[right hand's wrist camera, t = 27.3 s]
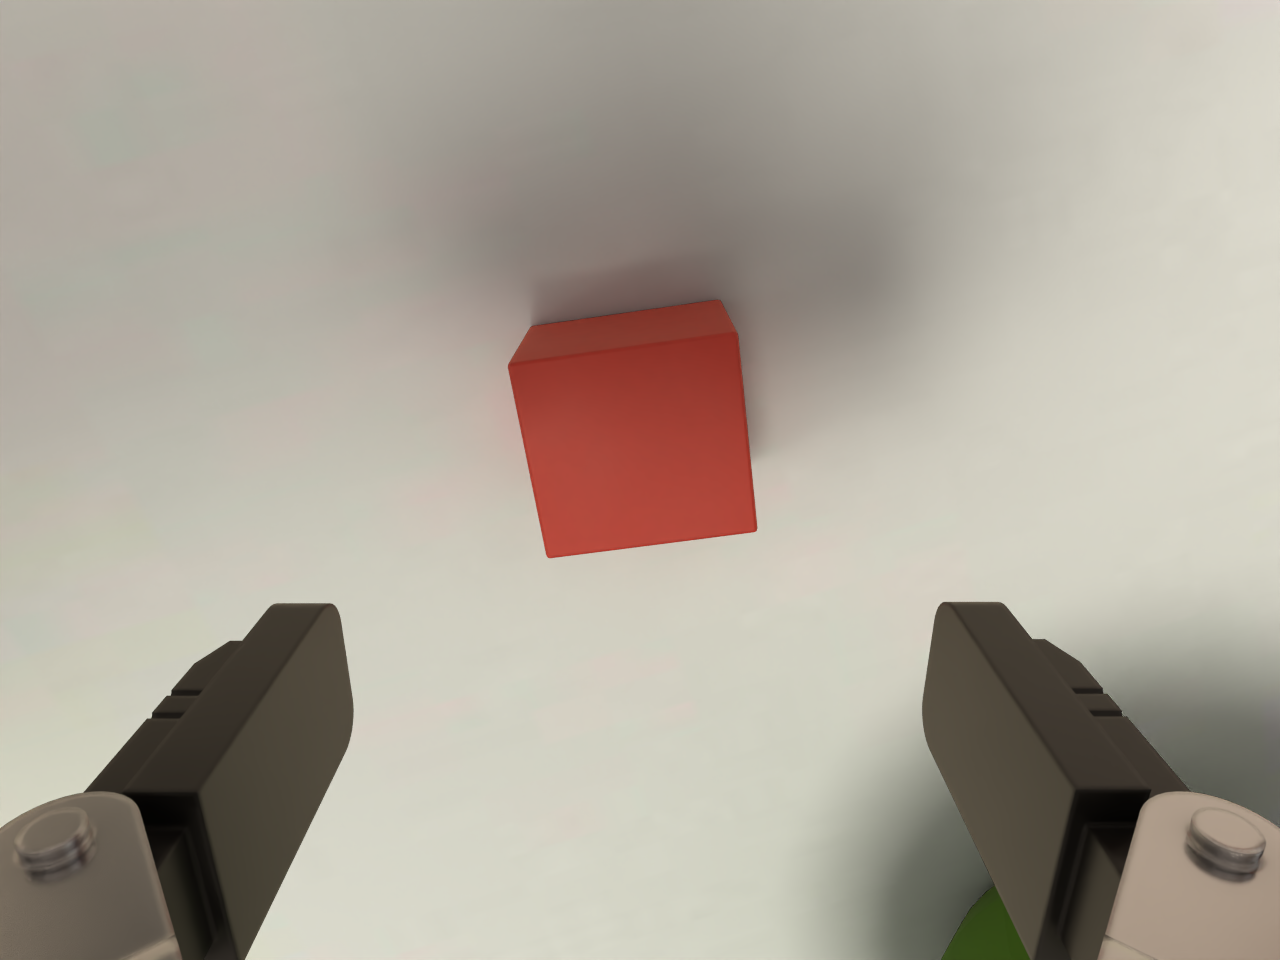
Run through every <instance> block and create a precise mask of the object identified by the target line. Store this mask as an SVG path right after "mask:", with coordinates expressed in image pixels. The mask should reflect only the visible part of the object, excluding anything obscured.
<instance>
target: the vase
mask: <svg viewBox="0 0 1280 960" xmlns="http://www.w3.org/2000/svg"><path fill="white" fill-rule="evenodd" d="M941 960H1030V958H1029V956H1028V953H1027V951H1026V949H1025V947H1024V945H1023V943H1022V941H1021V939H1020V937H1019V935H1018V933H1017V931H1016V928H1015V926H1014V924H1013V922H1012V920H1011V918H1010V916H1009V914H1008V912H1007V910H1006V908H1005V905H1004V903H1003V901H1002V899H1001V897H1000V895H999V893H998V891H997V889H996V887H995V886H994V887H992V888H991V889H990V890H988V891H987V892H986V893H985V894H984V895H983V896H982V897H981V898H980V899H979V900H978V901H977V902H976V903H975V904H974V905H973V906H972V907H971V909H970V910H969V912H968V913H967V915H966V917H965V918H964V920H963V921H962V923H961V925H960V926H959V928H958V930H957V932H956V934H955V935H954V937H953V939H952V941H951V943H950V944H949V946H948V948H947V950H946V952H945V953H944V955H943V957H942V959H941Z"/></svg>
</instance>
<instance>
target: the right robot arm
mask: <svg viewBox="0 0 1280 960" xmlns="http://www.w3.org/2000/svg"><path fill="white" fill-rule="evenodd" d="M171 691H172V693H171V696H166V697H165V698H164V700H163V701H162V702H161V703H160V704H159V705H158V707H157V708H156V709H155V710H154V711H153V712H152V718H151V719H146V721H145V722H144V723H143V724H142V725H141V726H140V728H139V729H138V730H137V731H136V732H135V733H134V734H133V736H132V737H131V738H130V739H129V740H128V741H127V743H126V744H125V745H124V746H123V747H122V748H121V750H120V751H119V752H118V753H117V754H116V755H115V757H114V758H113V759H112V760H111V761H110V762H109V764H108V765H107V766H106V767H105V768H104V769H103V771H102V772H101V773H100V774H99V775H98V776H97V778H96V779H95V780H94V781H93V782H92V783H91V784H90V786H89V787H88V788H87V789H86V790H85V791H84V793H78V794H74V795H70V796H65V797H62V798H59V799H56V800H53V801H50V802H47V803H45V804H42V805H40V806H37V807H35V808H33V809H31V810H29V811H27V812H25V813H23V814H21V815H20V816H18V817H16V818H15V819H13V820H11V821H10V822H8V823H7V824H5V825H4V826H3V827H1V828H0V960H245V958H246V956H247V954H248V952H249V950H250V948H251V946H252V944H253V942H254V940H255V937H256V935H257V933H258V931H259V929H260V927H261V925H262V923H263V921H264V919H265V917H266V915H267V913H268V911H269V909H270V907H271V904H272V902H273V900H274V898H275V896H276V894H277V892H278V890H279V888H280V886H281V884H282V882H283V880H284V878H285V876H286V874H287V872H288V869H289V867H290V865H291V863H292V861H293V859H294V857H295V855H296V853H297V851H298V849H299V847H300V845H301V843H302V841H303V839H304V837H305V834H306V832H307V830H308V828H309V826H310V824H311V822H312V820H313V818H314V816H315V814H316V812H317V810H318V808H319V806H320V804H321V802H322V799H323V797H324V795H325V793H326V791H327V789H328V787H329V785H330V783H331V781H332V779H333V777H334V775H335V773H336V771H337V769H338V766H339V764H340V762H341V760H342V758H343V756H344V754H345V752H346V750H347V747H348V744H349V741H350V737H351V732H352V726H353V698H352V691H351V684H350V678H349V671H348V665H347V658H346V651H345V645H344V638H343V631H342V625H341V619H340V615H339V612H338V610H337V608H336V607H335V605H333V604H331V603H277V604H273V605H272V606H270V607H269V608H268V610H267V611H266V612H265V613H264V615H263V616H262V617H261V618H260V619H259V621H258V622H257V623H256V624H255V626H254V627H253V628H252V629H251V631H250V632H249V633H248V634H247V636H246V637H245V638H244V639H243V641H229V642H227V643H226V644H224V645H223V646H221V647H220V648H218V649H217V650H215V651H213V652H212V653H210V654H209V655H207V656H206V657H204V658H202V659H201V660H199V661H198V662H196V663H195V664H194V665H193V666H192V667H191V668H190V669H189V671H188V672H187V673H186V674H185V675H184V676H183V677H182V679H181V680H180V681H179V682H178V683H177V684H176V686H175V687H174V688H173V689H172V690H171ZM922 716H923V726H924V732H925V737H926V741H927V744H928V747H929V749H930V751H931V753H932V755H933V757H934V760H935V762H936V764H937V766H938V768H939V770H940V772H941V774H942V776H943V778H944V780H945V782H946V785H947V787H948V789H949V791H950V793H951V795H952V797H953V799H954V801H955V803H956V805H957V807H958V810H959V812H960V814H961V816H962V818H963V820H964V822H965V824H966V826H967V828H968V830H969V833H970V835H971V837H972V839H973V841H974V843H975V845H976V847H977V849H978V851H979V853H980V855H981V858H982V860H983V862H984V864H985V866H986V868H987V870H988V872H989V874H990V876H991V878H992V880H993V883H994V885H995V887H996V889H997V891H998V893H999V895H1000V897H1001V899H1002V901H1003V903H1004V905H1005V908H1006V910H1007V912H1008V914H1009V916H1010V918H1011V920H1012V922H1013V924H1014V926H1015V928H1016V931H1017V933H1018V935H1019V937H1020V939H1021V941H1022V943H1023V945H1024V947H1025V949H1026V951H1027V953H1028V956H1029V958H1030V960H1280V828H1279V827H1277V826H1276V825H1275V824H1273V823H1272V822H1270V821H1269V820H1267V819H1265V818H1264V817H1262V816H1260V815H1259V814H1257V813H1255V812H1253V811H1251V810H1249V809H1247V808H1245V807H1243V806H1240V805H1238V804H1235V803H1233V802H1230V801H1227V800H1224V799H1221V798H1218V797H1215V796H1210V795H1206V794H1202V793H1194V792H1191V791H1190V790H1189V789H1188V788H1187V787H1186V786H1185V784H1184V783H1183V782H1182V781H1181V780H1180V779H1179V777H1178V776H1177V775H1176V774H1175V773H1174V772H1173V770H1172V769H1171V768H1170V767H1169V766H1168V764H1167V763H1166V762H1165V761H1164V760H1163V759H1162V757H1161V756H1160V755H1159V754H1158V753H1157V752H1156V750H1155V749H1154V748H1153V747H1152V746H1151V745H1150V743H1149V742H1148V741H1147V740H1146V739H1145V737H1144V736H1143V735H1142V734H1141V733H1140V732H1139V730H1138V729H1137V728H1136V727H1135V726H1134V725H1133V723H1132V722H1131V721H1130V720H1129V719H1128V718H1127V716H1122V710H1121V709H1120V708H1119V707H1118V706H1117V705H1116V703H1115V702H1114V701H1113V700H1112V699H1111V698H1110V696H1109V695H1108V694H1103V688H1102V687H1101V686H1100V685H1099V683H1098V682H1097V681H1096V680H1095V679H1094V678H1093V676H1092V675H1091V674H1090V673H1089V672H1088V671H1087V669H1086V668H1085V667H1084V666H1083V665H1082V664H1081V662H1079V661H1078V660H1076V659H1075V658H1073V657H1072V656H1070V655H1069V654H1067V653H1065V652H1064V651H1062V650H1061V649H1059V648H1058V647H1056V646H1055V645H1053V644H1051V643H1050V642H1048V641H1047V640H1045V639H1032V638H1031V637H1030V636H1029V635H1028V633H1027V632H1026V631H1025V629H1024V628H1023V627H1022V626H1021V624H1020V623H1019V622H1018V621H1017V619H1016V618H1015V617H1014V616H1013V614H1012V613H1011V612H1010V611H1009V609H1008V608H1007V607H1006V606H1005V605H1004V604H1003V603H1001V602H943V603H942V604H940V606H939V607H938V609H937V612H936V615H935V620H934V627H933V633H932V640H931V647H930V654H929V660H928V667H927V674H926V681H925V687H924V694H923V702H922Z"/></svg>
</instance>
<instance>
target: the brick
mask: <svg viewBox="0 0 1280 960" xmlns="http://www.w3.org/2000/svg"><path fill="white" fill-rule="evenodd" d="M508 370H509V375H510V380H511V384H512V389H513V394H514V399H515V404H516V409H517V414H518V419H519V424H520V429H521V433H522V438H523V443H524V448H525V453H526V458H527V463H528V468H529V473H530V478H531V482H532V487H533V492H534V497H535V502H536V507H537V512H538V517H539V522H540V526H541V531H542V536H543V541H544V546H545V551H546V555H547V557H548V558H555V557H563V556H571V555H579V554H587V553H594V552H602V551H610V550H618V549H626V548H634V547H641V546H649V545H657V544H665V543H673V542H681V541H688V540H696V539H704V538H712V537H720V536H727V535H735V534H743V533H751V532H755V531H757V519H756V509H755V499H754V489H753V479H752V469H751V459H750V449H749V439H748V429H747V419H746V409H745V399H744V389H743V379H742V369H741V358H740V348H739V338H738V333H737V332H736V330H735V328H734V326H733V324H732V322H731V320H730V318H729V316H728V314H727V312H726V310H725V308H724V306H723V304H722V303H721V301H720V300H712V301H705V302H698V303H691V304H684V305H677V306H670V307H663V308H656V309H649V310H642V311H635V312H628V313H621V314H614V315H607V316H600V317H593V318H586V319H579V320H572V321H565V322H558V323H551V324H544V325H537V326H532V327H530V329H529V330H528V332H527V334H526V335H525V337H524V339H523V341H522V342H521V344H520V346H519V347H518V349H517V351H516V352H515V354H514V356H513V357H512V359H511V361H510V362H509V364H508Z"/></svg>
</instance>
